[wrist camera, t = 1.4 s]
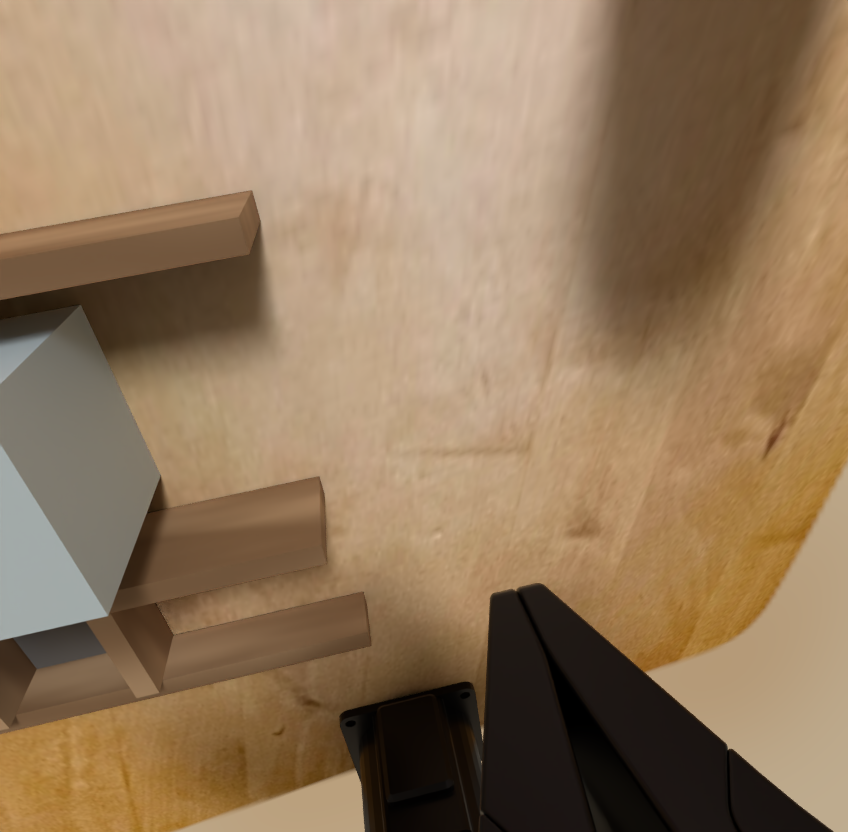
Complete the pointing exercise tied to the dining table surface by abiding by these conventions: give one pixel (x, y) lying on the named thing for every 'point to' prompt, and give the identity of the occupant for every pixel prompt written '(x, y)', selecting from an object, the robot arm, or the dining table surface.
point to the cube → (64, 474)
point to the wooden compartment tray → (170, 512)
